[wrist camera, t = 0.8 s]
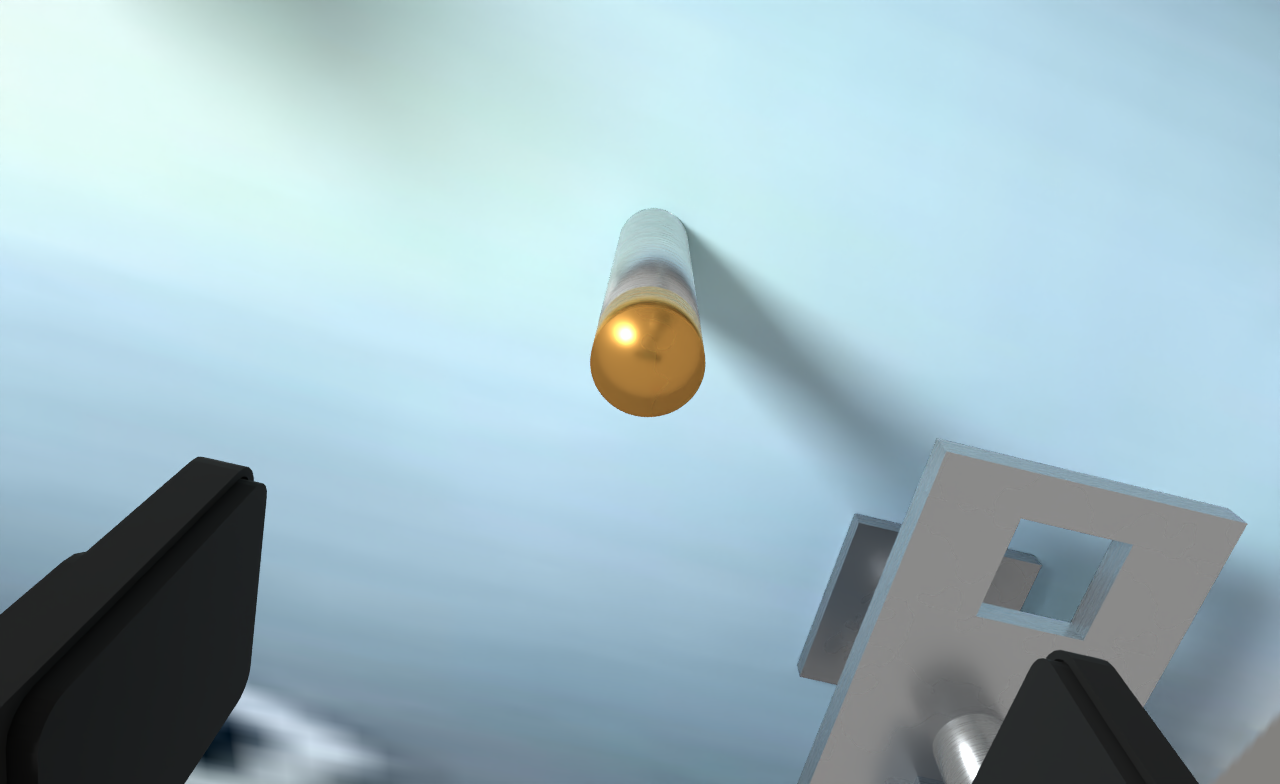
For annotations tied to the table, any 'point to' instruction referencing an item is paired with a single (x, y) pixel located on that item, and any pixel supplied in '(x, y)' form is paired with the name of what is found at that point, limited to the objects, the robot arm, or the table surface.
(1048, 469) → the plate with square hole
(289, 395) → the table surface
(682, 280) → the pin
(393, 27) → the table surface
